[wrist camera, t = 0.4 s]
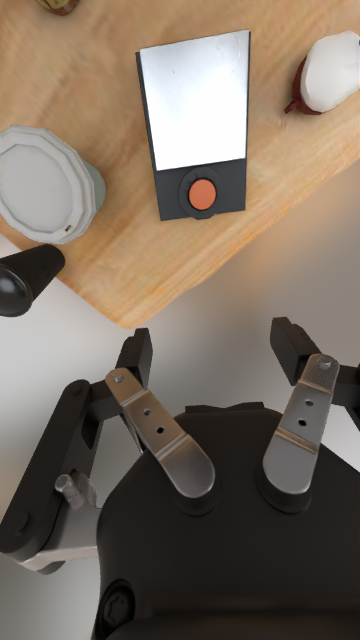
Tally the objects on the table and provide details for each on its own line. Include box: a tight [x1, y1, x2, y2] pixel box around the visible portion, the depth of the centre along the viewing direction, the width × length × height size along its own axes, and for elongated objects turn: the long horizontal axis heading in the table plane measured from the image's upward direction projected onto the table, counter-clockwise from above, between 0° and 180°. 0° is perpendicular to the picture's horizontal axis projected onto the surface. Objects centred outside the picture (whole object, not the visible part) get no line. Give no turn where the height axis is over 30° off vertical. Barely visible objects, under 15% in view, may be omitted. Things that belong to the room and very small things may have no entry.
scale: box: [135, 32, 251, 221], centre depth 30 cm, size 18×13×3 cm
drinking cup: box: [0, 244, 65, 317], centre depth 32 cm, size 8×8×20 cm
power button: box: [189, 179, 216, 210], centre depth 32 cm, size 4×4×2 cm
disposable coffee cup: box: [0, 125, 106, 244], centre depth 28 cm, size 11×11×15 cm
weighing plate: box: [139, 29, 249, 171], centre depth 27 cm, size 11×12×1 cm
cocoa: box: [284, 30, 360, 115], centre depth 23 cm, size 10×6×12 cm, turn 105°
